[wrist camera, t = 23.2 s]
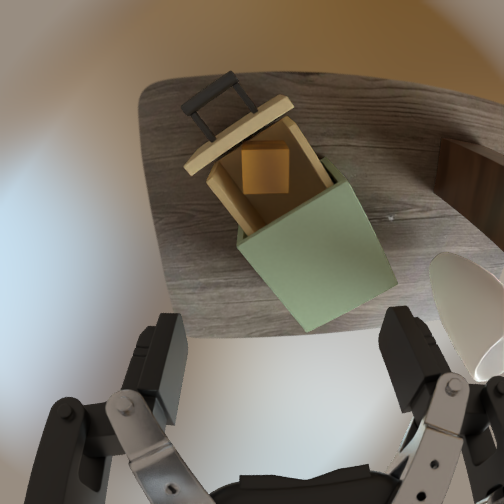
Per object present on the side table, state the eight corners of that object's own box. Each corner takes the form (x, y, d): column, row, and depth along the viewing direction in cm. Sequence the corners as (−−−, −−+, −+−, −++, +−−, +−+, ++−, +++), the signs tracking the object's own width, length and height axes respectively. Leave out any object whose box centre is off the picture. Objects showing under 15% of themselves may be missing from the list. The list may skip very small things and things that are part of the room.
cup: (416, 221, 40) (502, 321, 21) (466, 229, 40) (549, 316, 22) (396, 281, 45) (454, 390, 27) (445, 283, 46) (506, 377, 27)
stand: (433, 192, 38) (512, 260, 22) (441, 137, 34) (534, 183, 18) (473, 195, 37) (550, 257, 22) (481, 145, 33) (570, 191, 18)
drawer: (171, 117, 32) (151, 126, 26) (254, 59, 29) (254, 51, 22) (262, 234, 40) (263, 267, 33) (339, 188, 37) (358, 213, 30)
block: (244, 179, 35) (242, 194, 31) (242, 140, 33) (241, 149, 29) (284, 179, 35) (288, 193, 31) (284, 140, 33) (289, 149, 29)
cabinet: (239, 209, 39) (236, 247, 31) (325, 156, 36) (347, 180, 27) (297, 286, 45) (306, 332, 37) (373, 244, 42) (398, 284, 34)
